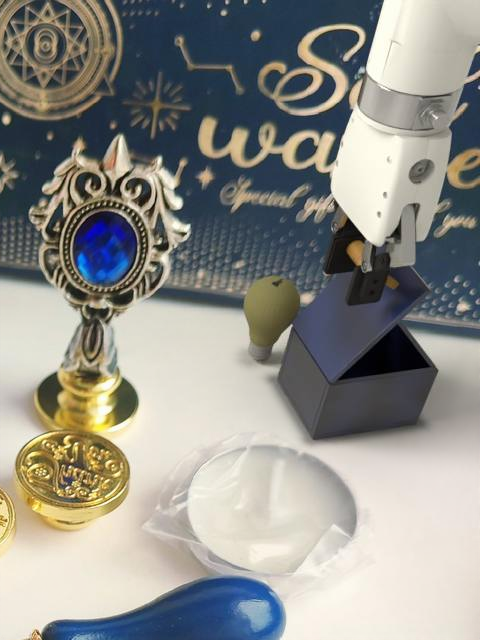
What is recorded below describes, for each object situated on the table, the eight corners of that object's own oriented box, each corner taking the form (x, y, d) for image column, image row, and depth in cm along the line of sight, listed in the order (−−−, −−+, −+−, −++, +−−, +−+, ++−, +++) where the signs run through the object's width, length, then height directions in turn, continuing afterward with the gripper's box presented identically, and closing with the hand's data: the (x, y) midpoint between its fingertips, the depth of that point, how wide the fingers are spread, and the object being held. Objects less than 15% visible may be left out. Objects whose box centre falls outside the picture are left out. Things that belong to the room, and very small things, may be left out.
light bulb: (277, 381, 113) (298, 303, 105) (225, 366, 114) (243, 288, 107) (290, 350, 116) (312, 273, 109) (239, 336, 118) (258, 259, 110)
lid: (385, 233, 101) (353, 211, 99) (432, 291, 95) (400, 269, 93) (294, 324, 108) (261, 305, 105) (332, 383, 102) (299, 365, 99)
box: (375, 366, 114) (395, 312, 109) (416, 424, 108) (439, 370, 103) (276, 380, 113) (291, 326, 108) (312, 439, 107) (330, 385, 102)
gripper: (506, 143, 81) (431, 337, 94) (403, 45, 92) (349, 231, 105) (413, 154, 80) (351, 348, 93) (320, 54, 91) (276, 240, 104)
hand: (350, 284), depth 99 cm, fingers closed on lid, 4 cm apart
